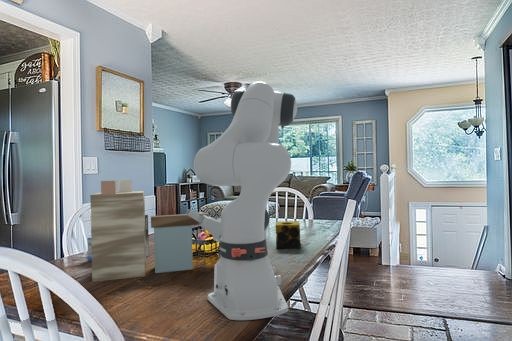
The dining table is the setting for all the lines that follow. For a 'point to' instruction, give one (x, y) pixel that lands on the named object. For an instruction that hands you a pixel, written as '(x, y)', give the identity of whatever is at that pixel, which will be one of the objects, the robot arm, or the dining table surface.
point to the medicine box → (89, 249)
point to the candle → (288, 235)
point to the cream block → (124, 185)
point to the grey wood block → (118, 235)
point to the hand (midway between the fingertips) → (188, 212)
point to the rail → (174, 220)
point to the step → (173, 248)
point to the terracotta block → (108, 187)
